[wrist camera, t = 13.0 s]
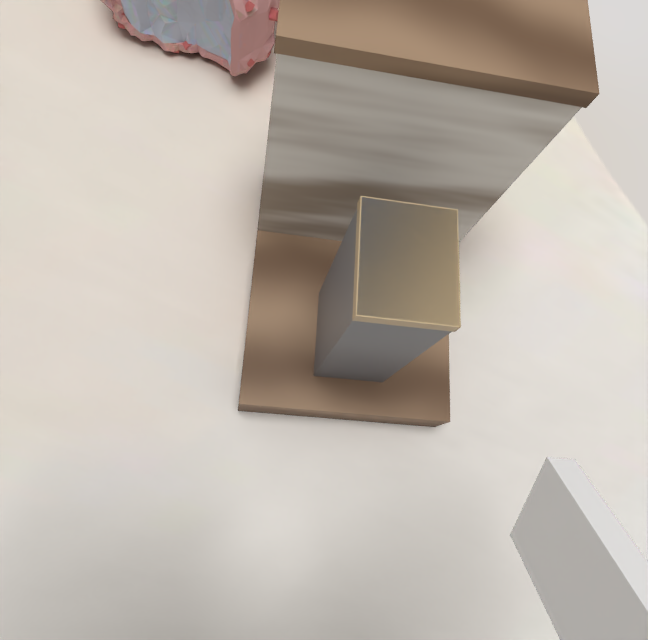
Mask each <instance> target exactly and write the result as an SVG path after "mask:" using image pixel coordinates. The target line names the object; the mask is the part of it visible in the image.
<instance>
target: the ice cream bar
mask: <svg viewBox="0 0 648 640" xmlns="http://www.w3.org/2000/svg"><path fill="white" fill-rule="evenodd" d="M101 1H102V2H103V3H104V4H105V5H106V6H107V7H109V8H110V9H111V10H112V11H113V12H114V14H113V19H114V20H115V21H117V22H118V27H119V28H123V29H127V30H128V32H129V33H130V35H131V36H136V37H137V38H139V39H140V40H141V41H151V40H153V41H154V42H155V43H157V44H158V45H160V47H161V48H162V49H163V50H164V51H171V52H173V53H179V52H180V51H182V52H185V53H197V52H199V53H200V55H201V56H202V57H204V58H209V59H211V60H213V61H215V62H217V63H219V64H220V65H222V66H223V67H225V68H226V69H228V70H229V71H230V75H233V76H234V77H235V76H237V75H240V74H242V73H247V72H248V71H249V70H250V69H251V68H252V67H253V65H254V64H255V63H256V62H261V61H265V60H266V59H267V58H268V57H269V55H270V53H271V49H272V47H273V45H274V43H275V39H274V33H273V31H274V25H275V21H278V12H279V11H278V8H279V3H280V0H101Z"/></svg>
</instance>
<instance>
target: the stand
mask: <svg viewBox="0 0 648 640" xmlns="http://www.w3.org/2000/svg"><path fill="white" fill-rule="evenodd" d="M274 53H276V54H277V56H276V65H275V75H274V84H273V93H272V102H271V111H270V120H269V130H268V139H267V148H266V157H265V166H264V175H263V185H262V194H261V203H260V212H259V222H258V231H257V240H256V249H255V258H254V268H253V277H252V286H251V295H250V305H249V314H248V323H247V332H246V342H245V351H244V360H243V369H242V379H241V388H240V397H239V406H238V411H249V412H261V413H273V414H285V415H297V416H309V417H321V418H333V419H346V420H358V421H370V422H382V423H394V424H406V425H418V426H430V427H436V426H439V425H442V424H445V423H448V422H450V386H449V334H448V335H446V336H445V337H444V338H442V339H441V340H440V341H438V342H437V343H435V344H434V345H433V346H431V347H430V348H429V349H427V350H426V351H425V352H423V353H422V354H420V355H419V356H418V357H416V358H415V359H414V360H412V361H411V362H409V363H408V364H407V365H405V366H404V367H403V368H401V369H400V370H399V371H397V372H396V373H394V374H393V375H392V376H390V377H389V378H388V379H386V380H385V381H384V382H374V381H363V380H353V379H342V378H331V377H320V376H314V361H315V345H316V330H317V315H318V299H319V292H320V289H321V287H322V285H323V283H324V281H325V278H326V276H327V274H328V272H329V269H330V267H331V265H332V263H333V260H334V258H335V256H336V254H337V251H338V249H339V247H340V245H341V242H342V240H343V238H344V236H345V234H346V231H347V229H348V227H349V225H350V222H351V220H352V218H353V216H354V213H355V211H356V209H357V203H358V201H359V198H360V196H367V197H374V198H381V199H388V200H395V201H402V202H409V203H416V204H423V205H430V206H437V207H444V208H451V209H458V237H459V242H460V240H461V239H462V238H463V237H464V236H465V235H466V234H467V233H468V232H469V231H470V229H471V228H472V227H473V226H474V225H475V224H476V223H477V222H478V221H479V220H480V218H481V217H482V216H483V215H484V214H485V213H486V212H487V211H488V210H489V209H490V208H491V206H492V205H493V204H494V203H495V202H496V201H497V200H498V199H499V198H500V197H501V195H502V194H503V193H504V192H505V191H506V190H507V189H508V188H509V187H510V186H511V184H512V183H513V182H514V181H515V180H516V179H517V178H518V177H519V176H520V175H521V173H522V172H523V171H524V170H525V169H526V168H527V167H528V166H529V165H530V164H531V163H532V161H533V160H534V159H535V158H536V157H537V156H538V155H539V154H540V153H541V152H542V150H543V149H544V148H545V147H546V146H547V145H548V144H549V143H550V142H551V141H552V139H553V138H554V137H555V136H556V135H557V134H558V133H559V132H560V131H561V130H562V128H563V127H564V126H565V125H566V124H567V123H568V122H569V121H570V120H571V119H572V117H573V116H574V115H575V114H576V113H577V112H578V111H579V110H580V109H581V108H582V107H584V108H586V107H587V106H588V105H589V104H590V103H591V102H592V101H593V100H594V99H595V98H596V97H597V96H598V94H599V88H598V80H597V71H596V64H595V56H594V48H593V40H592V33H591V24H590V16H589V8H588V0H280V3H279V12H278V21H277V30H276V40H275V49H274Z"/></svg>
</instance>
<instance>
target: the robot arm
mask: <svg viewBox="0 0 648 640" xmlns="http://www.w3.org/2000/svg"><path fill="white" fill-rule="evenodd" d="M510 536H511V538H512V540H513V542H514V544H515V546H516V548H517V550H518V553H519V555H520V557H521V559H522V561H523V563H524V565H525V567H526V569H527V571H528V573H529V575H530V578H531V580H532V582H533V584H534V586H535V588H536V590H537V592H538V594H539V596H540V598H541V601H542V603H543V605H544V607H545V609H546V611H547V613H548V615H549V617H550V619H551V621H552V624H553V626H554V628H555V630H556V632H557V634H558V636H559V638H560V640H648V560H647V559H646V558H645V556H644V555H643V553H642V552H641V551H640V549H639V548H638V546H637V545H636V544H635V542H634V541H633V539H632V538H631V537H630V535H629V534H628V532H627V531H626V530H625V528H624V527H623V525H622V524H621V523H620V521H619V520H618V518H617V517H616V516H615V514H614V513H613V511H612V510H611V509H610V507H609V506H608V504H607V503H606V502H605V500H604V499H603V497H602V496H601V495H600V493H599V492H598V490H597V489H596V488H595V486H594V485H593V483H592V482H591V481H590V479H589V478H588V476H587V475H586V474H585V472H584V471H583V469H582V468H581V467H580V465H579V464H578V462H577V461H576V460H575V459H568V458H554V457H547V458H546V460H545V462H544V464H543V466H542V468H541V470H540V473H539V475H538V477H537V479H536V481H535V483H534V485H533V487H532V489H531V492H530V494H529V496H528V498H527V500H526V502H525V504H524V506H523V508H522V511H521V513H520V515H519V517H518V519H517V521H516V523H515V525H514V527H513V530H512V532H511V534H510Z"/></svg>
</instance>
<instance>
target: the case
mask: <svg viewBox="0 0 648 640" xmlns="http://www.w3.org/2000/svg"><path fill="white" fill-rule="evenodd" d="M460 327H461V323H460V280H459V237H458V209H451V208H444V207H437V206H430V205H423V204H416V203H409V202H402V201H395V200H388V199H381V198H374V197H367V196H360V198H359V201H358V203H357V209H356V211H355V213H354V216H353V218H352V220H351V222H350V225H349V227H348V229H347V231H346V234H345V236H344V238H343V240H342V242H341V245H340V247H339V249H338V251H337V254H336V256H335V258H334V260H333V263H332V265H331V267H330V269H329V272H328V274H327V276H326V278H325V281H324V283H323V285H322V287H321V289H320V292H319V299H318V315H317V330H316V345H315V361H314V376H320V377H331V378H342V379H353V380H363V381H374V382H384V381H385V380H386V379H388V378H389V377H390V376H392V375H393V374H394V373H396V372H397V371H399V370H400V369H401V368H403V367H404V366H405V365H407V364H408V363H409V362H411V361H412V360H414V359H415V358H416V357H418V356H419V355H420V354H422V353H423V352H425V351H426V350H427V349H429V348H430V347H431V346H433V345H434V344H435V343H437V342H438V341H440V340H441V339H442V338H444V337H445V336H446V335H448V334H449V333H450V332H455V331H456V330H458V329H459V328H460Z"/></svg>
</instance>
